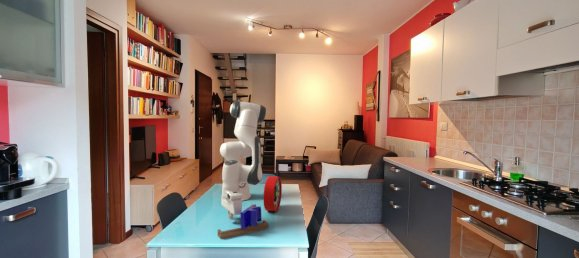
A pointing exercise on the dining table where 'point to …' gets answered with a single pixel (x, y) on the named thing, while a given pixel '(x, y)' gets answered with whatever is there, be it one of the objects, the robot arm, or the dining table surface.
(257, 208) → the mounting bracket
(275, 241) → the dining table surface
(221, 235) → the handle
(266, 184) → the red hockey puck
